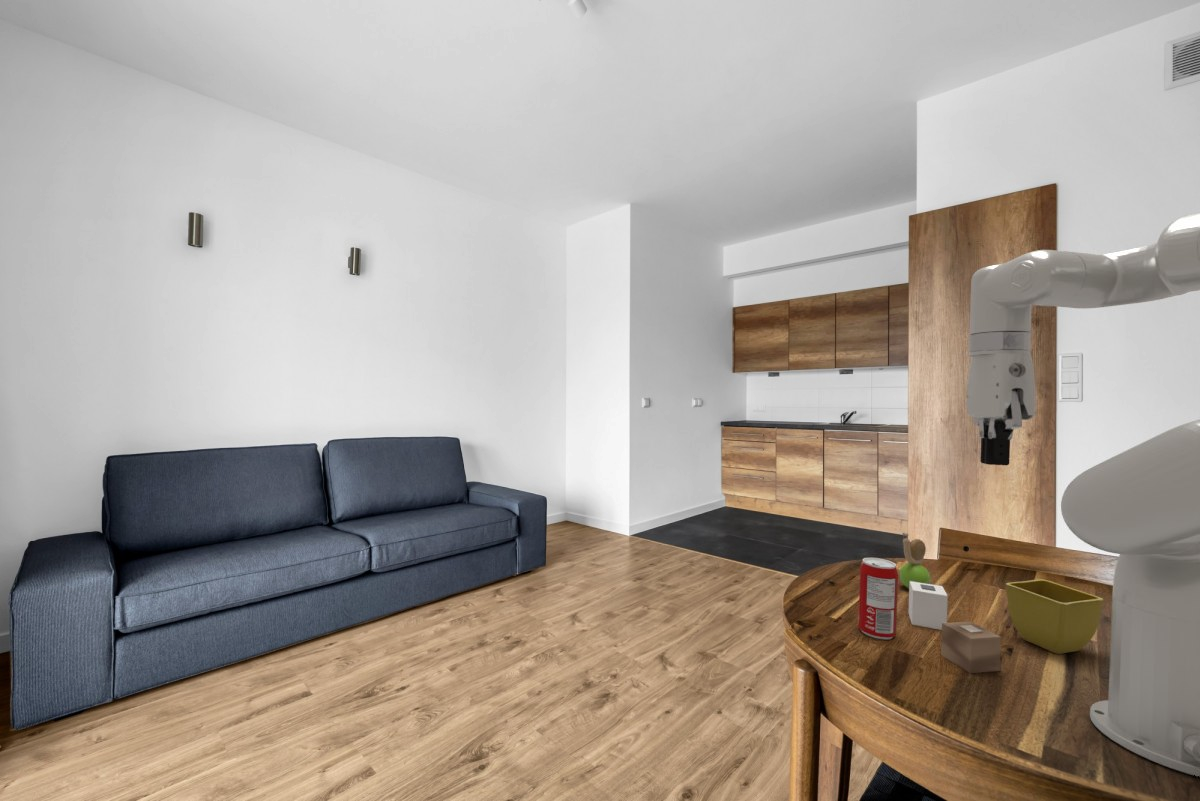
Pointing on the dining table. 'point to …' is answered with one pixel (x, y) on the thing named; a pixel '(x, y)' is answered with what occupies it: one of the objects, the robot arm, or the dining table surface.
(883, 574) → the soda can
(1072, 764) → the dining table surface
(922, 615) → the white block
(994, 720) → the dining table surface
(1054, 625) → the flower pot
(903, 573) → the snail figurine
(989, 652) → the walnut block
